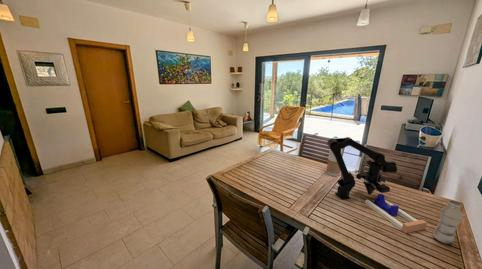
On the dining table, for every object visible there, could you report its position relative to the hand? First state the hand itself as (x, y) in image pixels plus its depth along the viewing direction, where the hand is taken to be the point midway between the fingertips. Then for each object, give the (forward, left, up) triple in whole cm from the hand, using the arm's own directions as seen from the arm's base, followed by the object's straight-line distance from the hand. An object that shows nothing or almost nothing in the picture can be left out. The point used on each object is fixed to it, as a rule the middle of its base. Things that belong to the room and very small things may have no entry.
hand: (369, 194), depth 117 cm
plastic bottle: (+6, -34, -3) cm, 35 cm away
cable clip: (0, -10, -3) cm, 11 cm away
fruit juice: (0, +34, -3) cm, 34 cm away
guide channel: (0, -14, -3) cm, 15 cm away
